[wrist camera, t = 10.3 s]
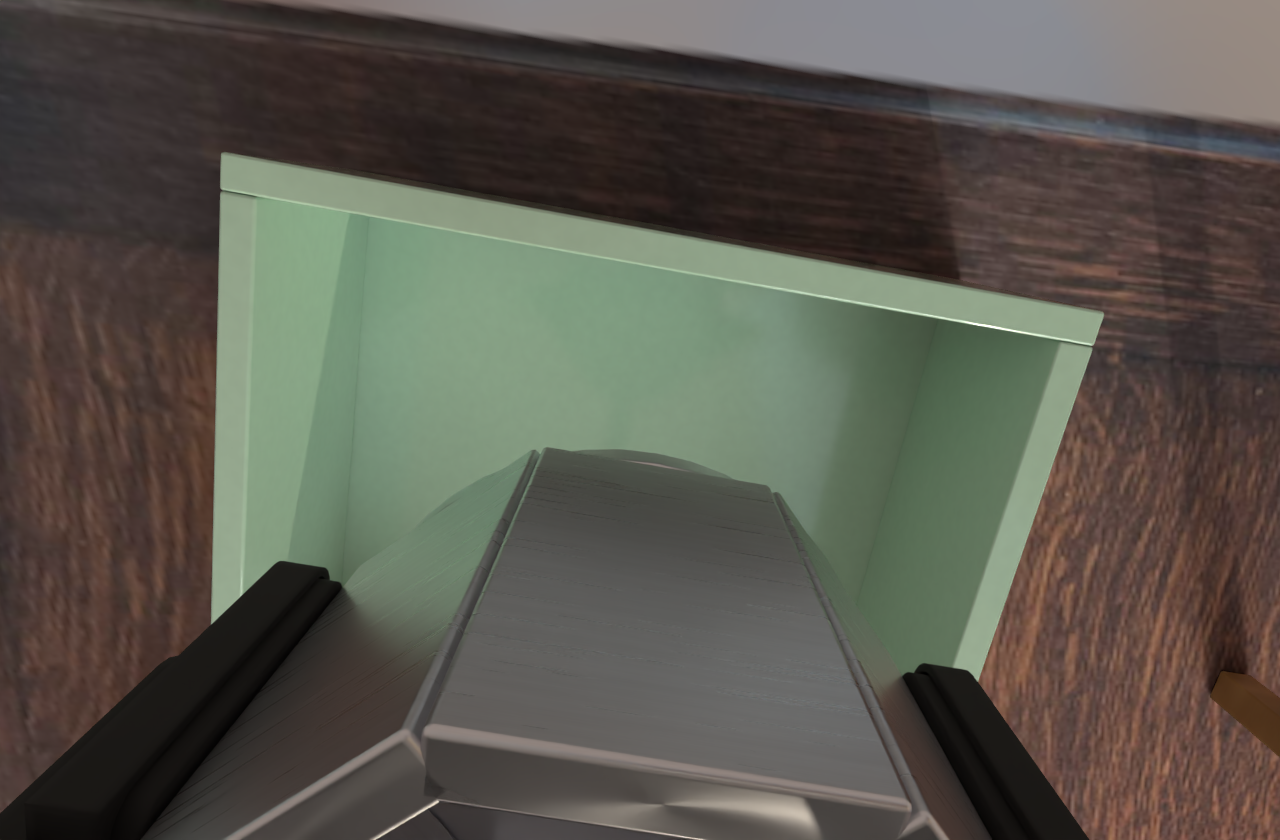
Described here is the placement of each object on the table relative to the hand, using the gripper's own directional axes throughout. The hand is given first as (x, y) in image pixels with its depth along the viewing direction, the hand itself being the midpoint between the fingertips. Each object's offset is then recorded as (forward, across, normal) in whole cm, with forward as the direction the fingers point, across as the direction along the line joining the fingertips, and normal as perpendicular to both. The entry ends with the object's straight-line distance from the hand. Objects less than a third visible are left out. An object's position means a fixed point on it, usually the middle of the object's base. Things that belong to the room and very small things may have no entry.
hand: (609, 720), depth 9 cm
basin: (+16, 0, +4) cm, 17 cm away
